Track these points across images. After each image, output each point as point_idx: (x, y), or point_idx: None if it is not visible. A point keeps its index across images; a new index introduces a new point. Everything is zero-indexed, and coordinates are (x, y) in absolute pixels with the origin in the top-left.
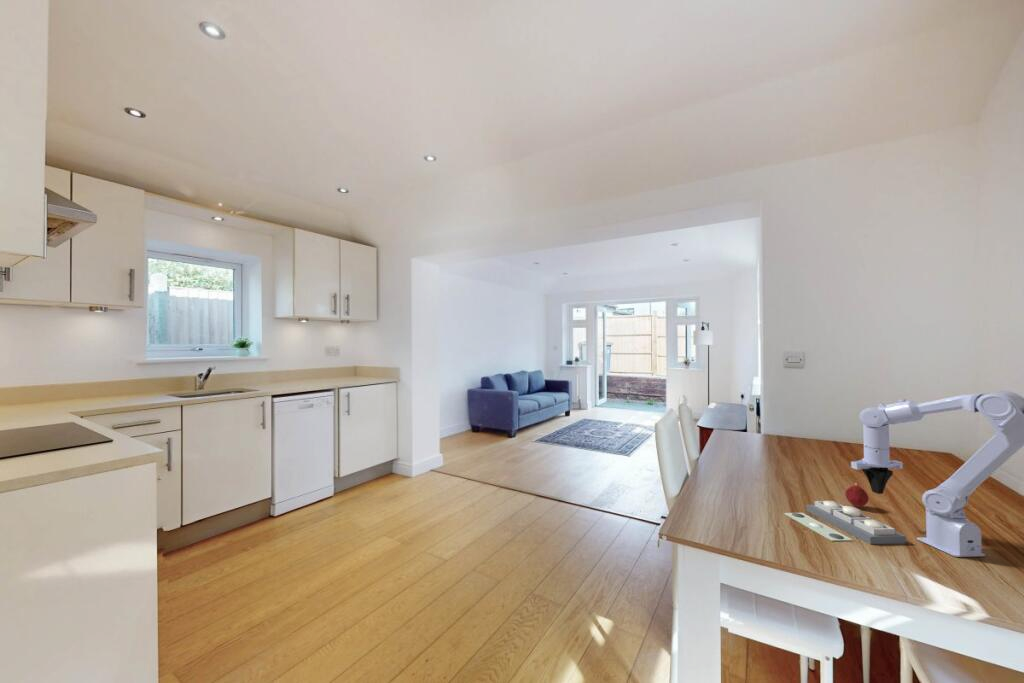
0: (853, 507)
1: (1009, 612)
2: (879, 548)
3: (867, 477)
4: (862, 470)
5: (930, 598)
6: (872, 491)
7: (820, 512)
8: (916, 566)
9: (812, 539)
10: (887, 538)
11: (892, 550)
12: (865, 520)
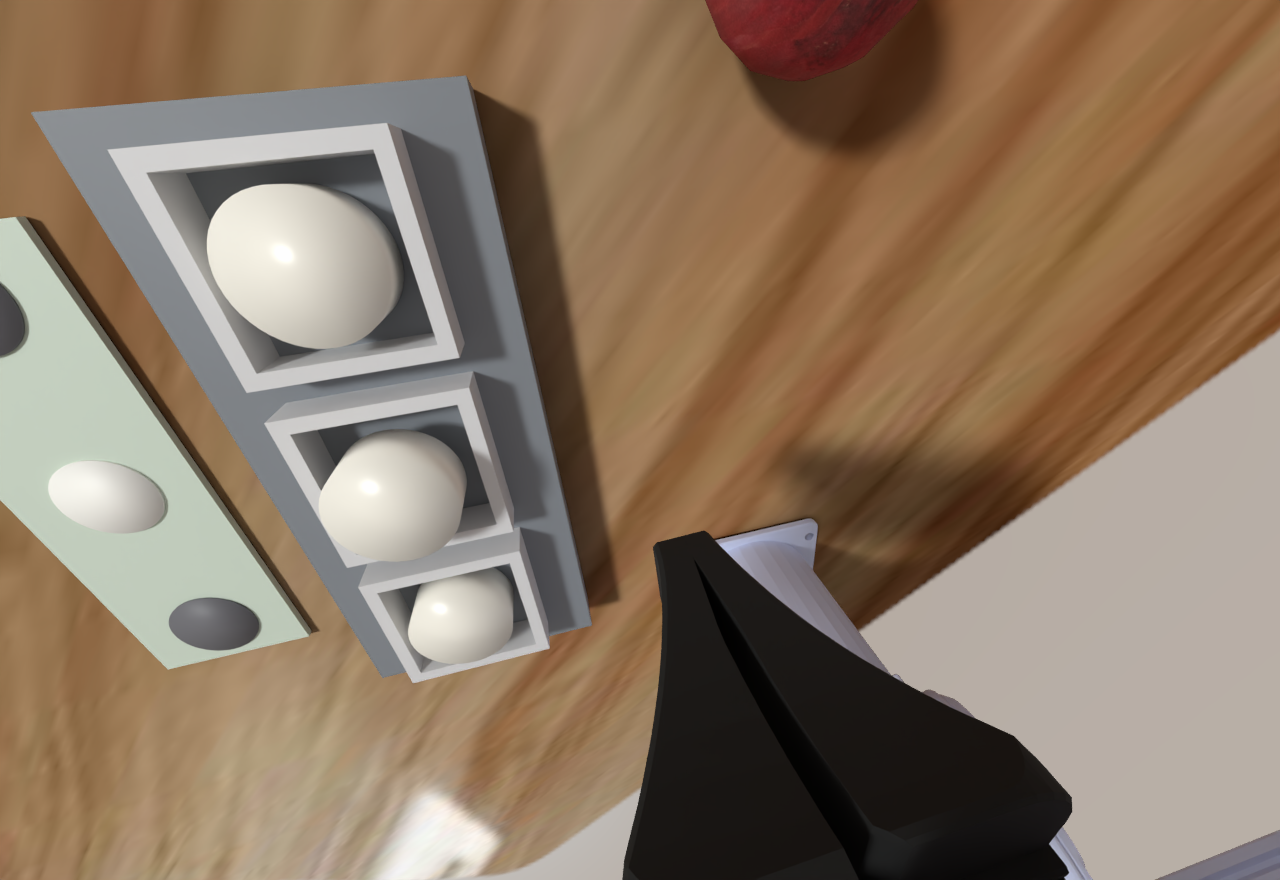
0: (431, 482)
1: (538, 855)
2: None
3: (656, 712)
4: (625, 855)
5: (374, 875)
6: (654, 549)
7: (177, 341)
8: (470, 749)
9: (40, 670)
10: None
11: None
12: (423, 614)
